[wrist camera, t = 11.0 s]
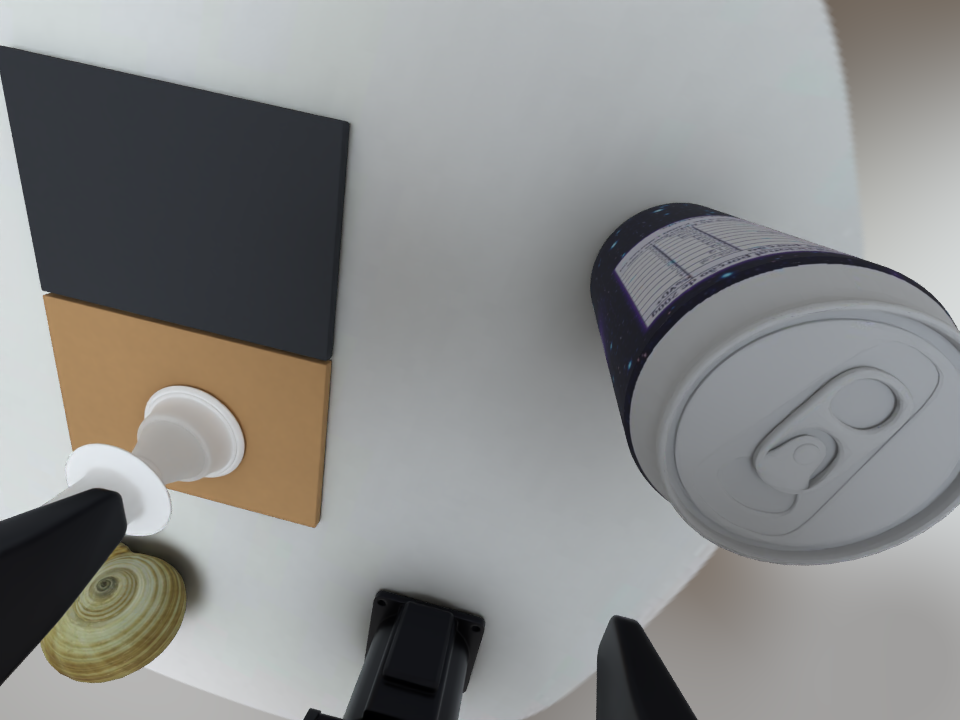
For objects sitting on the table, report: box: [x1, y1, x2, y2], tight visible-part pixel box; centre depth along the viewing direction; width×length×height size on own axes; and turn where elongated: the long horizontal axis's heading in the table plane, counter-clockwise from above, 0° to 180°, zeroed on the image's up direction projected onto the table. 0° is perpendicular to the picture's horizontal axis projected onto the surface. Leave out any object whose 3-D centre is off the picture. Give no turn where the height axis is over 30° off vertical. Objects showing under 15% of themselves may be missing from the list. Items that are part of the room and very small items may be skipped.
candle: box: [42, 386, 245, 536], centre depth 19 cm, size 5×5×12 cm
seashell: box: [40, 542, 187, 683], centre depth 28 cm, size 10×7×8 cm
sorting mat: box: [0, 46, 349, 528], centre depth 22 cm, size 20×14×1 cm
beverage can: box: [590, 203, 960, 565], centre depth 13 cm, size 6×6×12 cm
